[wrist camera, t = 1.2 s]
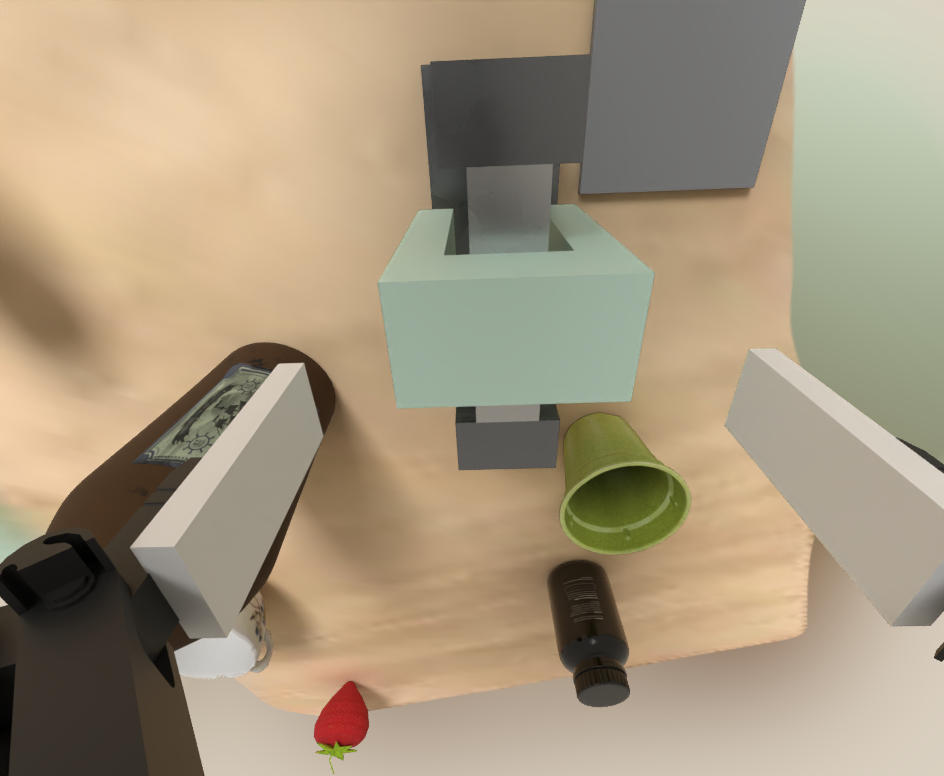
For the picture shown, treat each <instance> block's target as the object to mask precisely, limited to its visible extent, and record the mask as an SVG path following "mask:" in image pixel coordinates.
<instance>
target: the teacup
mask: <svg viewBox="0 0 944 776" xmlns="http://www.w3.org/2000/svg"><path fill="white" fill-rule="evenodd" d="M265 625H266V615H265V606H264V601H263V598H262V595H261V593H260V591H259V592H258V593H257V594H256V595H255V597H254V598H253V599H252V600H251V601H250V603H249V604H248V605H247V606H246V607H245V608H244V609H243V610H242V611H241V612H240V613H239V614H238V616H237V618H236V621H235V623H234V625H233V627H232V629H231V631H230V633H229V635H228V637H227V638H202V639H200V640H198V641H195V642H193V643H191V644H189V645H187V646H185V647H183V648H181V649H178V650H176V651H174V653H175V657H176V661H177V666H178V670H179V674H180V675H182V676H186V677H190V678H200V679H216V678H218V677H221V676H224V677H227V678H233V677H238V676H242V675H244V674H246V673H248V672H249V671H252V672H254V673H259V672H261V671H263V670H264V669H265V668H266V667H267V666H268V664H269V661H270V658H271V655H272V650H273V642H272V638H271V634H270V632H269V631H268V630H267V629H266V627H265ZM263 640H265V642H266V646H267V652H266V655H265V657H264V658H263V659H262V660H261V661H257V660H258V658H259V655H260V652H261V649H262V645H263Z"/></svg>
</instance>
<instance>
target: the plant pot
mask: <svg viewBox="0 0 944 776" xmlns="http://www.w3.org/2000/svg"><path fill="white" fill-rule="evenodd" d="M563 448H564V464H565V483H566V490H565V494H564V498H563V500H562V503H561V506H560V513H559V517H560V523H561V527H562V529H563V531H564V533H565V534H566V535H567V537H568V538H569V539H570V540H571V541H572V542H573V543H575V544H576V545H578V546H580V547H581V548H584V549H586V550H588V551H592V552H596V553H600V554H610V555H618V554H629V553H634V552H639V551H642V550H645V549H648V548H650V547H652V546H655V545H656V544H659V543H661V542H662V541H664V540H666V539H667V538H668V537H670V536H671V535H672V534H674V533H675V532H676V531H677V530H678V529H679V528H680V527H681V525H682V524H683V523H684V521H685V520H686V518H687V516H688V513H689V510H690V506H691V494H690V490H689V488H688V486H687V484H686V482H685V481H684V480H683V478H682V477H681V476H680V475H679V474H678V473H677V472H675V471H674V470H673V469H671V468H669V467H667V466H665V465H664V464H663V463H662V462H660V461H659V460H657V459H656V458H655V456H654V455H653V454H652V453H651V452H650V450H649V449H648V448H647V447H646V446H645V444H644V443H643V442H642V441H641V439H640V438H639V437H638V435H637V434H636V433H635V432H634V430H633V429H632V428H631V427H630V426H629V424H628V423H627V422H626V421H625V420H624V419H622V418H621V417H619V416H613V415H609V414H604V413H595V414H590V415H587V416H585V417H583V418H581V419H579V420H578V421H576V422H575V423H574V424H573V425H571V427H570V428H569V430H568V432H567V434H566V436H565V439H564V441H563Z"/></svg>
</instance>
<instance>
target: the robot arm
mask: <svg viewBox="0 0 944 776" xmlns="http://www.w3.org/2000/svg"><path fill="white" fill-rule="evenodd" d="M724 426H725V427H726V428H727V429H728V430H729V432H730V433H731V434H732V435H733V436H734V438H735V439H736V440H737V441H738V443H739V444H740V445H741V446H742V447H743V449H744V450H745V451H746V452H747V453H748V455H749V456H750V457H751V458H752V459H753V461H754V462H755V463H756V464H757V465H758V467H759V468H760V469H761V470H762V472H763V473H764V474H765V475H766V476H767V478H768V479H769V480H770V481H771V482H772V484H773V485H774V486H775V487H776V488H777V490H778V491H779V492H780V493H781V494H782V496H783V497H784V498H785V499H786V501H787V502H788V503H789V504H790V505H791V507H792V508H793V509H794V510H795V511H796V513H797V514H798V515H799V516H800V517H801V519H802V520H803V521H804V522H805V523H806V525H807V526H808V527H809V528H810V529H811V531H812V532H813V533H814V534H815V536H816V537H817V538H818V539H819V540H820V542H821V543H822V544H823V545H824V546H825V548H826V549H827V550H828V551H829V552H830V554H831V555H832V556H833V557H834V558H835V560H836V561H837V562H838V563H839V565H840V566H841V567H842V568H843V569H844V571H845V572H846V573H847V574H848V575H849V577H850V578H851V579H852V580H853V581H854V583H855V584H856V585H857V586H858V587H859V589H860V590H861V591H862V592H863V594H864V595H865V596H866V597H867V598H868V600H869V601H870V602H871V603H872V604H873V606H874V607H875V608H876V609H877V610H878V612H879V613H880V614H881V615H882V616H883V618H884V619H885V620H886V621H887V623H888V624H889V625H890V626H931V625H932V624H933V623H934V621H935V620H936V619H937V618H938V617H939V616H940V615H941V613H942V612H943V611H944V464H942V463H941V462H940V461H938V460H937V459H935V458H934V457H933V456H931V455H930V454H928V453H927V452H926V451H924V450H922V449H920V448H918V447H916V446H913V445H912V444H909V443H908V442H906V441H903V440H901V439H899V438H896V437H894V436H892V435H891V434H890V433H888V432H887V431H886V430H884V429H883V428H882V427H880V426H879V425H878V424H876V423H875V422H874V421H872V420H871V419H870V418H868V417H867V416H866V415H864V414H863V413H862V412H860V411H859V410H858V409H856V408H855V407H854V406H852V405H851V404H849V403H848V402H847V401H846V400H844V399H843V398H841V397H840V396H839V395H838V394H836V393H835V392H833V391H832V390H831V389H829V388H828V387H827V386H826V385H824V384H823V383H821V382H820V381H819V380H817V379H816V378H815V377H813V376H812V375H811V374H809V373H808V372H807V371H805V370H804V369H803V368H801V367H800V366H799V365H797V364H796V363H795V362H793V361H792V360H791V359H789V358H788V357H787V356H785V355H784V354H783V353H781V352H780V351H779V350H777V349H776V348H768V349H749V351H748V354H747V357H746V360H745V363H744V366H743V370H742V373H741V376H740V379H739V382H738V385H737V388H736V391H735V394H734V398H733V401H732V404H731V407H730V410H729V413H728V416H727V419H726V422H725V425H724ZM323 437H324V436H323V433H322V429H321V425H320V421H319V418H318V414H317V410H316V406H315V403H314V399H313V395H312V391H311V387H310V384H309V380H308V376H307V372H306V369H305V365H304V363H284V364H278V365H277V366H276V368H275V369H274V370H273V371H272V372H271V374H270V375H269V376H268V377H267V379H266V380H265V381H264V382H263V384H262V385H261V386H260V387H259V389H258V390H257V391H256V392H255V393H254V395H253V396H252V397H251V398H250V400H249V401H248V402H247V403H246V405H245V406H244V407H243V408H242V410H241V411H240V412H239V413H238V415H237V416H236V417H235V418H234V419H233V421H232V422H231V423H230V424H229V426H228V427H227V428H226V429H225V431H224V432H223V433H222V434H221V436H220V437H219V438H218V439H217V440H216V442H215V443H214V444H213V445H212V447H211V448H210V449H209V450H208V452H207V453H206V454H205V455H204V457H191V458H190V459H188V460H187V461H186V462H184V463H183V464H181V465H180V466H179V467H177V468H176V469H174V470H173V471H171V472H170V473H169V474H168V476H167V477H166V478H165V479H164V480H163V481H162V483H161V484H160V485H159V486H158V487H157V488H156V492H153V493H152V494H151V495H150V496H149V498H148V499H147V500H146V501H145V502H144V506H143V507H140V508H139V509H138V510H137V511H136V512H135V514H134V515H133V516H132V517H131V518H130V519H129V521H128V522H127V523H126V524H125V525H124V526H123V527H122V529H121V530H120V531H119V532H118V533H117V534H116V536H115V537H114V538H113V539H112V540H111V541H110V542H109V544H108V545H107V546H106V547H105V548H104V549H102V547H101V546H100V544H99V543H98V542H97V540H96V539H95V537H94V536H93V535H92V533H91V532H90V530H87V529H83V528H80V527H75V528H66V529H61V530H58V531H54V532H51V533H48V534H45V535H43V536H41V537H39V538H37V539H35V540H33V541H31V542H29V543H27V544H25V545H23V546H22V547H21V548H19V549H18V550H17V551H15V552H14V553H12V554H11V555H10V556H8V557H7V558H6V559H5V560H4V561H3V562H2V563H1V564H0V597H1V598H2V599H3V600H4V601H5V602H6V603H7V604H8V605H6V606H3V607H0V776H204V771H203V767H202V763H201V759H200V756H199V751H198V747H197V743H196V739H195V735H194V731H193V727H192V723H191V719H190V714H189V711H188V707H187V702H186V698H185V694H184V690H183V686H182V682H181V678H180V674H179V670H178V666H177V661H176V657H175V653H174V649H173V648H172V646H171V645H170V643H169V642H168V639H169V638H170V636H171V634H172V632H173V631H174V629H175V627H176V626H177V624H178V622H179V623H180V624H181V626H182V628H183V629H184V631H185V632H186V634H187V635H188V637H189V638H190V639H195V638H227V637H228V635H229V633H230V631H231V629H232V627H233V625H234V623H235V621H236V618H237V616H238V614H239V612H240V610H241V608H242V606H243V604H244V602H245V600H246V598H247V595H248V593H249V591H250V589H251V587H252V585H253V583H254V581H255V579H256V577H257V575H258V572H259V570H260V568H261V566H262V564H263V562H264V560H265V558H266V556H267V554H268V552H269V549H270V547H271V545H272V543H273V541H274V539H275V537H276V535H277V533H278V531H279V529H280V526H281V524H282V522H283V520H284V518H285V516H286V514H287V512H288V510H289V508H290V506H291V503H292V501H293V499H294V497H295V495H296V493H297V491H298V489H299V487H300V485H301V483H302V480H303V478H304V476H305V474H306V472H307V470H308V468H309V466H310V464H311V462H312V460H313V457H314V455H315V453H316V451H317V449H318V447H319V445H320V443H321V441H322V439H323ZM934 658H935V659H937V660H939V661H941V662H942V661H943V660H944V643H943V644H942V645H941V646H940V647H939V648H938V649H937V650H936V653H935V656H934Z"/></svg>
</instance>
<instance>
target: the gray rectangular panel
mask: <svg viewBox="0 0 944 776" xmlns="http://www.w3.org/2000/svg"><path fill="white" fill-rule="evenodd" d="M805 2H806V0H594V12H593V23H592V35H591V47H590V54H591V62H590V74H589V86H588V98H587V109H586V121H585V133H584V144H583V156H582V163H581V166H580V178H579V190H578V193H579V194H599V193H624V192H650V191H675V190H701V189H726V188H752V187H754V186H755V182H756V179H757V175H758V172H759V168H760V164H761V161H762V157H763V154H764V150H765V146H766V143H767V139H768V135H769V132H770V128H771V125H772V121H773V117H774V114H775V110H776V107H777V103H778V99H779V96H780V92H781V89H782V85H783V81H784V78H785V74H786V71H787V67H788V63H789V60H790V56H791V53H792V49H793V45H794V42H795V38H796V34H797V31H798V27H799V24H800V20H801V17H802V13H803V9H804V6H805Z"/></svg>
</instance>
